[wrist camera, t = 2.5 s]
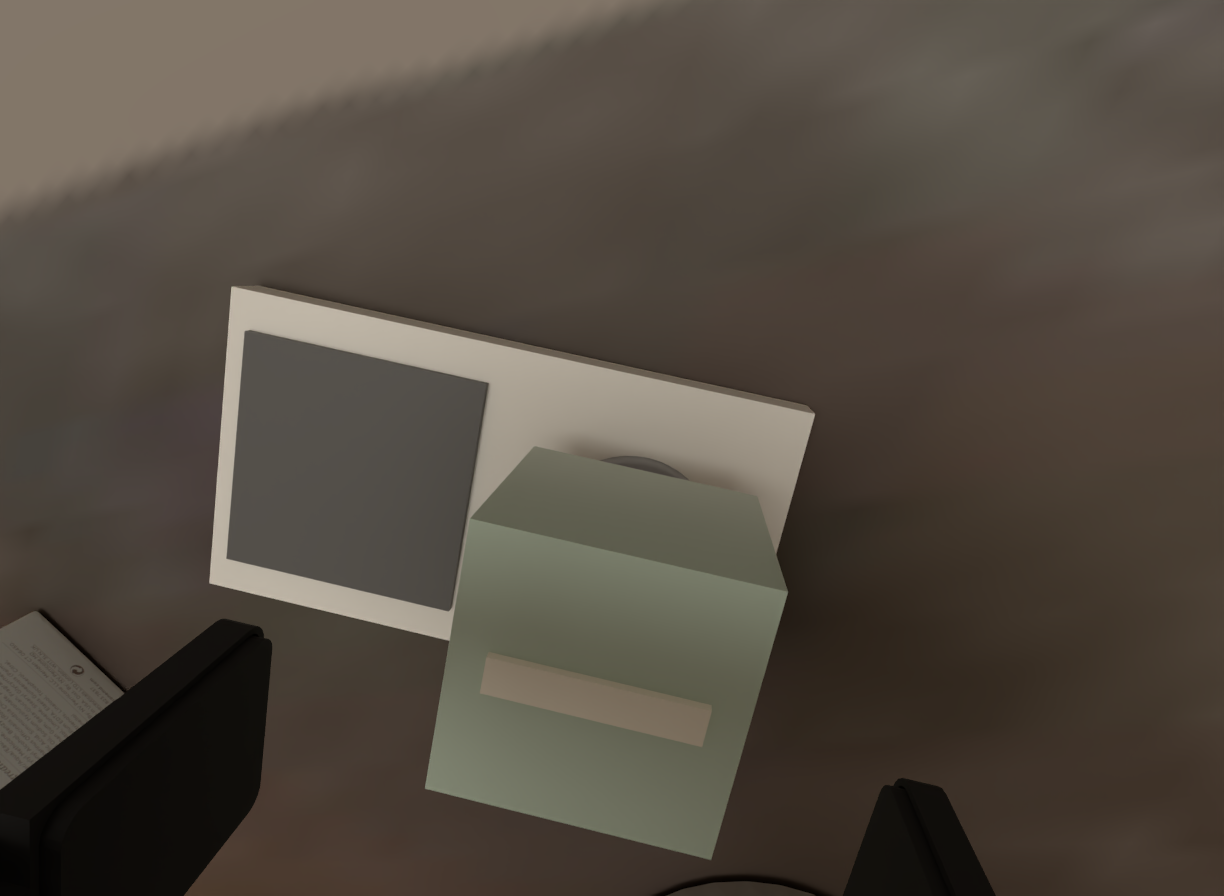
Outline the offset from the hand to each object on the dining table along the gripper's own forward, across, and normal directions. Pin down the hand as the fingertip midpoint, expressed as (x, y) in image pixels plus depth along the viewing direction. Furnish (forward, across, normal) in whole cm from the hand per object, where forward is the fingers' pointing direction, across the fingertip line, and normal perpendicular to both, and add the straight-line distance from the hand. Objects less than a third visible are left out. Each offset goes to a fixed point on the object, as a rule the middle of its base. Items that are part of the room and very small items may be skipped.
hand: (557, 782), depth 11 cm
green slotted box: (+9, 0, +1) cm, 9 cm away
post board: (+14, +4, +1) cm, 15 cm away
